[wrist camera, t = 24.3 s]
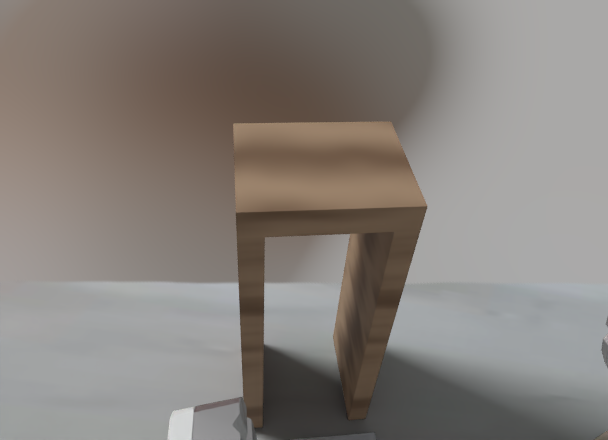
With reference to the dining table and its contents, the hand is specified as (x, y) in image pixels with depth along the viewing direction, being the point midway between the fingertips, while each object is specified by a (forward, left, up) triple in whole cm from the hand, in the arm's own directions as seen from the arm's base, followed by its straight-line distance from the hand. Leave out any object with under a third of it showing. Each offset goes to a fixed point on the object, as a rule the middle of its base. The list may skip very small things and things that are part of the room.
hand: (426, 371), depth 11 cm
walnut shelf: (+8, +19, -36) cm, 41 cm away
